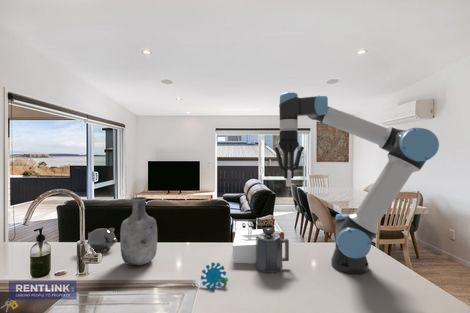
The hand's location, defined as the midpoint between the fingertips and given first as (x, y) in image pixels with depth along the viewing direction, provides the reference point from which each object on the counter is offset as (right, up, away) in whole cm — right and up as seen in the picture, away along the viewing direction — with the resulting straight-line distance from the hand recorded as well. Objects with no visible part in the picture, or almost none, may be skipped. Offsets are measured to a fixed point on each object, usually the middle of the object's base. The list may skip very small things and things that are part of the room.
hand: (288, 186), depth 113 cm
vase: (-67, -37, +10) cm, 77 cm away
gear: (-31, -37, -11) cm, 49 cm away
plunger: (-8, -33, +3) cm, 34 cm away
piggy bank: (-92, -37, +26) cm, 102 cm away
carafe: (-6, -36, +3) cm, 36 cm away
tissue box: (-15, -36, +20) cm, 44 cm away
